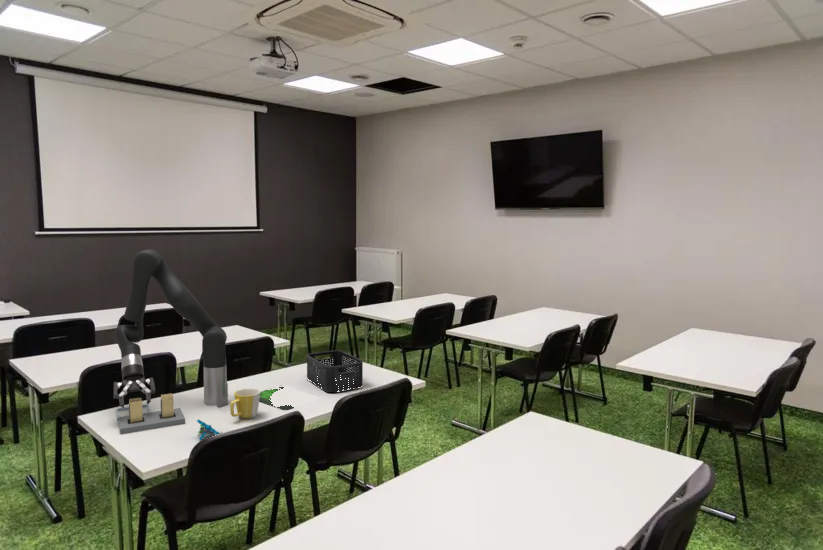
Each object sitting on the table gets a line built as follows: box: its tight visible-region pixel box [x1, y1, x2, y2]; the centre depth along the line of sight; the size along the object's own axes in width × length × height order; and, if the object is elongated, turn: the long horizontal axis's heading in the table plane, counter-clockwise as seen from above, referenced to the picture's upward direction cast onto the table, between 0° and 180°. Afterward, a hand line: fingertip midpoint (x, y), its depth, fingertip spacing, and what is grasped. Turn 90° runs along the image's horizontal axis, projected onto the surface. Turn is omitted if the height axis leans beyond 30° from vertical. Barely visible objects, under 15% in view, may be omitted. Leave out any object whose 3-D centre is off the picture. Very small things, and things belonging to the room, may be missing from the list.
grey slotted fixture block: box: [118, 407, 186, 435], centre depth 204 cm, size 22×13×3 cm, turn 121°
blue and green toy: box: [196, 419, 221, 441], centre depth 194 cm, size 11×6×10 cm
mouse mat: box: [259, 387, 295, 411], centre depth 240 cm, size 27×22×1 cm
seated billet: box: [160, 393, 175, 419], centre depth 206 cm, size 4×4×10 cm
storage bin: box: [306, 349, 364, 393], centre depth 261 cm, size 29×19×13 cm
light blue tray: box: [115, 403, 152, 422], centre depth 213 cm, size 12×12×2 cm
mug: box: [229, 387, 261, 420], centre depth 214 cm, size 14×10×10 cm
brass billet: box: [128, 397, 143, 424], centre depth 201 cm, size 4×4×10 cm
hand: (135, 405), depth 202 cm, fingers open, 8 cm apart
